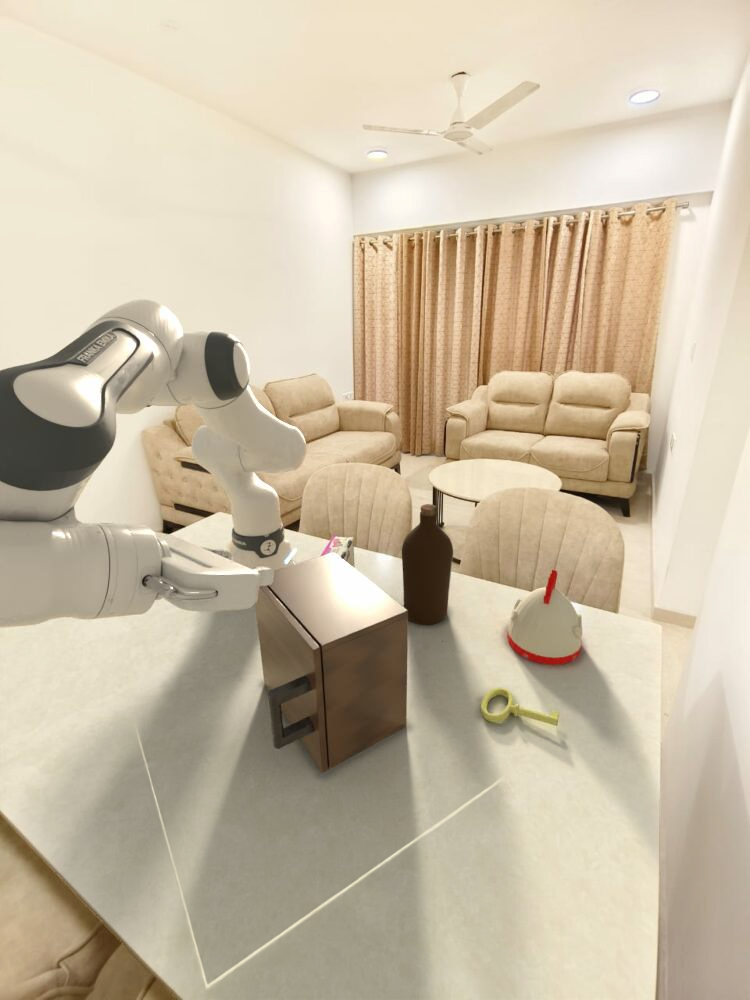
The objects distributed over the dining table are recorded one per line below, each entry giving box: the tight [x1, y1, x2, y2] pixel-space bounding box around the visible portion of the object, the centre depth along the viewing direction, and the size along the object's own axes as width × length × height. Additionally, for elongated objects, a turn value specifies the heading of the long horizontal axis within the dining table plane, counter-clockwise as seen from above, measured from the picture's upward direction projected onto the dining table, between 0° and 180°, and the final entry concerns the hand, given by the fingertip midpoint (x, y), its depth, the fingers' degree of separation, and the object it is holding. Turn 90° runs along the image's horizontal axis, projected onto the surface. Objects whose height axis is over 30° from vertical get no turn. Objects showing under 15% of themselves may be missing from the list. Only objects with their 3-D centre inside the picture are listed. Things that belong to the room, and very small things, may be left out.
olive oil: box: [401, 503, 454, 626], centre depth 105 cm, size 11×11×25 cm
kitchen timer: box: [506, 569, 583, 666], centre depth 97 cm, size 14×14×15 cm
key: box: [480, 687, 560, 727], centre depth 83 cm, size 7×12×2 cm, turn 78°
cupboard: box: [266, 552, 409, 770], centre depth 81 cm, size 14×22×22 cm, turn 33°
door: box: [254, 586, 329, 773], centre depth 76 cm, size 7×22×22 cm, turn 33°
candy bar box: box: [320, 535, 356, 569], centre depth 106 cm, size 11×5×16 cm, turn 168°
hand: (246, 565), depth 59 cm, fingers open, 8 cm apart
